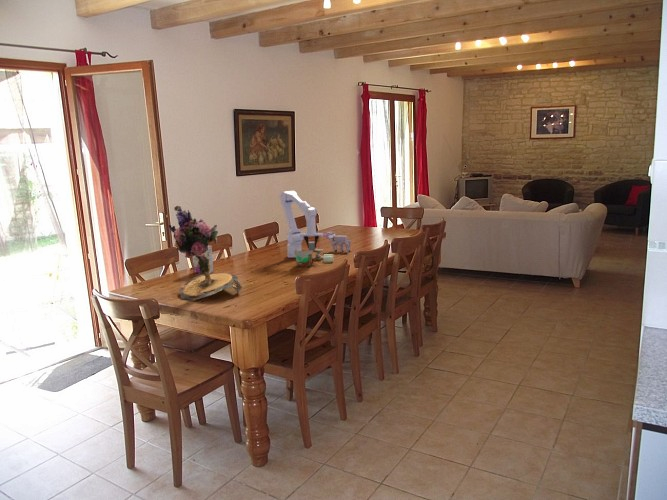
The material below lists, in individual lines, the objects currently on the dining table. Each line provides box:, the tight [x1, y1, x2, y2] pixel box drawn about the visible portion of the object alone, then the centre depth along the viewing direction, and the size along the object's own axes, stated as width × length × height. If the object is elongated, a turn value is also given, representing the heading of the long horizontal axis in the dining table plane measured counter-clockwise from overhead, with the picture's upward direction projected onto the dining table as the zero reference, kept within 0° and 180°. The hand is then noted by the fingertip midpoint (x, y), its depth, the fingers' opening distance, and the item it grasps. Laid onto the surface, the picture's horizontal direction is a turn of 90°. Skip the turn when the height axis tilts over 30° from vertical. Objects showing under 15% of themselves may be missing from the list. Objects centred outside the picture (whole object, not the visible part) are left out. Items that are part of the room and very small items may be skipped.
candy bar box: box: [191, 245, 215, 274], centre depth 321 cm, size 11×5×16 cm, turn 74°
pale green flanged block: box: [323, 253, 334, 263], centre depth 342 cm, size 6×8×4 cm
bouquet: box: [168, 205, 243, 302], centre depth 275 cm, size 33×44×45 cm
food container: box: [294, 249, 314, 268], centre depth 329 cm, size 12×6×10 cm, turn 62°
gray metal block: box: [308, 241, 316, 252], centre depth 344 cm, size 4×4×5 cm
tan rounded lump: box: [312, 248, 324, 261], centre depth 349 cm, size 8×8×6 cm
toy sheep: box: [323, 231, 352, 254], centre depth 371 cm, size 20×11×14 cm, turn 71°
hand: (311, 247), depth 344 cm, fingers closed on gray metal block, 4 cm apart
